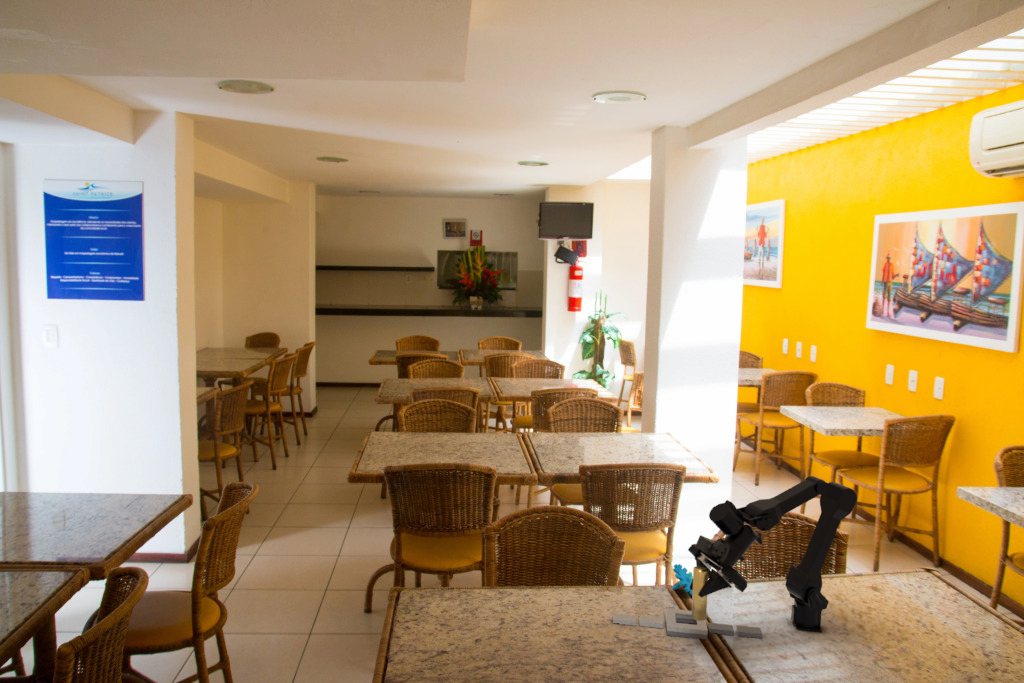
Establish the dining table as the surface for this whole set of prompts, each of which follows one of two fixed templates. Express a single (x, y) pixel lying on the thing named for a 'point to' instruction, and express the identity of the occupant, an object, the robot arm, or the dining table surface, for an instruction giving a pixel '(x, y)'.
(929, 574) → the dining table surface
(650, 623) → the square frame with tiles
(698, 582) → the pin
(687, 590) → the gear
